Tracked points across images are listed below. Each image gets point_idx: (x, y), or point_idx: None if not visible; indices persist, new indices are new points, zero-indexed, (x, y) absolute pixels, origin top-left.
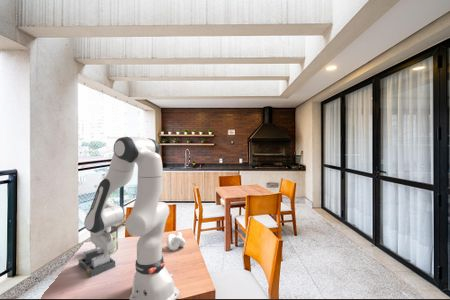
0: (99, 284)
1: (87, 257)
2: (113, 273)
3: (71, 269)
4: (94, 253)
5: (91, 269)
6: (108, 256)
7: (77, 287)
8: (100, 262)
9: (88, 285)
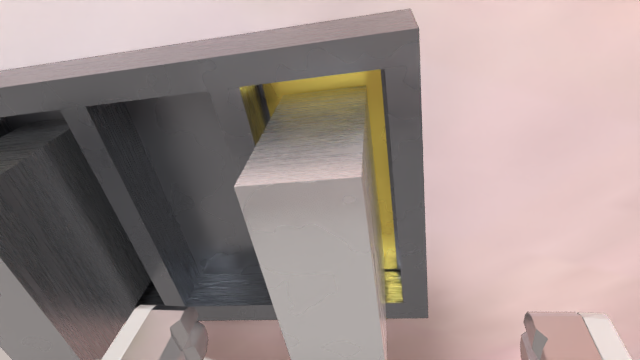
0: (631, 252)
1: (114, 312)
2: (569, 86)
3: None
4: (60, 266)
5: (386, 306)
6: (605, 317)
7: (487, 352)
8: (379, 263)
9: (541, 307)
